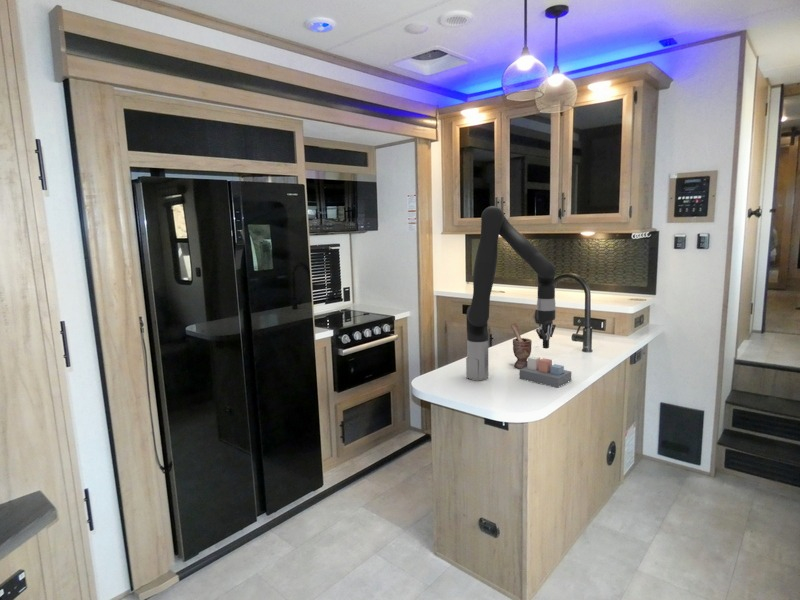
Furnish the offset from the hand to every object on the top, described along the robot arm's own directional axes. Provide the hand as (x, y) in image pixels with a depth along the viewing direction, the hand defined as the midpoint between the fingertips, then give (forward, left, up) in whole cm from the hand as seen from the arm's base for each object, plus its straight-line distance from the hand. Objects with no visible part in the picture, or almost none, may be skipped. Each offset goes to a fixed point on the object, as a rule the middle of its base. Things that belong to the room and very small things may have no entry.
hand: (545, 347), depth 205 cm
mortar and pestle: (+10, +19, -14) cm, 26 cm away
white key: (0, +6, -10) cm, 12 cm away
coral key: (0, 0, -10) cm, 10 cm away
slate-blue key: (0, -5, -12) cm, 13 cm away
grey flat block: (0, 0, -14) cm, 14 cm away
